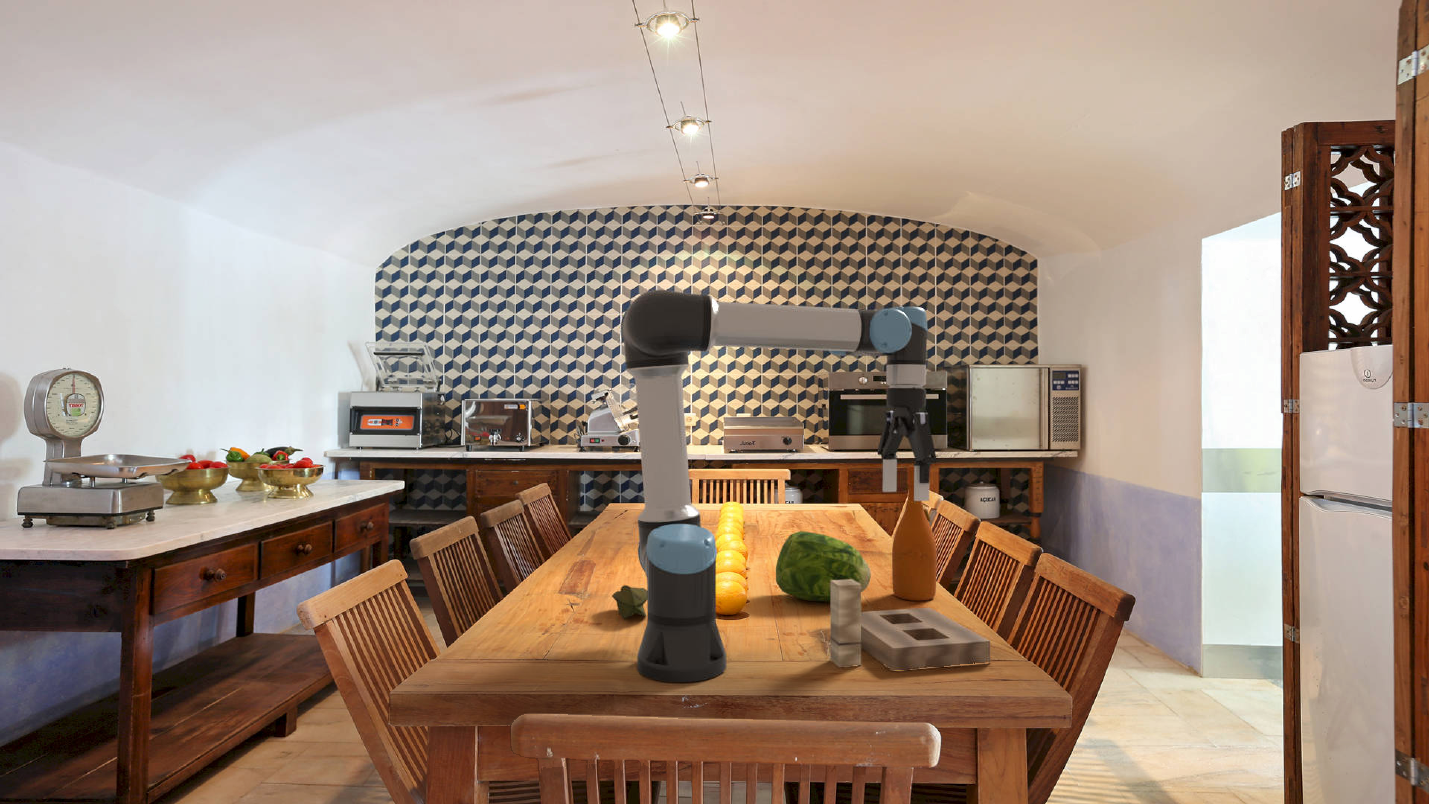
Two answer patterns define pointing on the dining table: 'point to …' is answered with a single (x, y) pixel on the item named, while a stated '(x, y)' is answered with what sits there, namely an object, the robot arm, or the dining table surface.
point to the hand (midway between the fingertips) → (904, 496)
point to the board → (920, 639)
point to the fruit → (630, 601)
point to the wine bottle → (914, 551)
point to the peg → (845, 622)
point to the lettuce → (818, 566)
